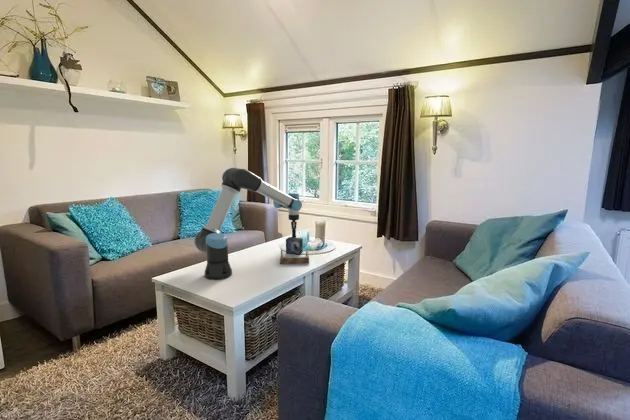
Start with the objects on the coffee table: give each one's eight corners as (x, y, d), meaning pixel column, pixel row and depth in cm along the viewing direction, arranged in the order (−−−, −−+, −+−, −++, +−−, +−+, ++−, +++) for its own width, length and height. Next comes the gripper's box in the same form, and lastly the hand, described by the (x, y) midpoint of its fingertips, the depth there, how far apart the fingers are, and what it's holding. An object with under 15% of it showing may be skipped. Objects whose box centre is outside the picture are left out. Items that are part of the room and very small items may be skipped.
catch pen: (280, 264, 213) (280, 258, 213) (281, 255, 231) (281, 249, 230) (309, 263, 215) (309, 257, 214) (307, 254, 232) (307, 249, 231)
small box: (285, 254, 234) (285, 239, 232) (288, 251, 240) (288, 236, 238) (299, 255, 231) (299, 240, 229) (303, 252, 237) (303, 238, 235)
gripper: (299, 215, 236) (299, 248, 240) (298, 212, 249) (298, 243, 253) (288, 215, 236) (288, 248, 240) (288, 212, 248) (288, 243, 253)
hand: (294, 245), depth 246 cm, fingers closed
